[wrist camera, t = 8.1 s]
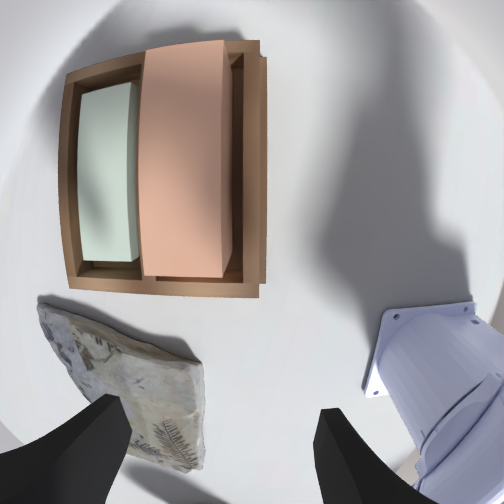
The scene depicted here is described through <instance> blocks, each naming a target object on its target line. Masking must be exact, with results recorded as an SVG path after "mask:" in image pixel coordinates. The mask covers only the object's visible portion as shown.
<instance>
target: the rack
mask: <svg viewBox="0 0 504 504" xmlns="http://www.w3.org/2000/svg"><path fill="white" fill-rule="evenodd" d="M224 43H225V47H226V51H227V55H228V58H229V62H230V66H231V70H232V74H233V78H234V97H233V251H232V254H231V257H230V259H229V262H228V264H227V267H226V269H225V272H224V275H223V277H222V278H214V277H174V276H145V275H144V267H143V257H142V245H141V232H140V214H139V182H138V153H139V122H140V105H141V92H142V81H143V72H144V63H145V55H146V51H145V52H140V53H136V54H131V55H127V56H123V57H119V58H115V59H112V60H108V61H105V62H101V63H98V64H95V65H91V66H88V67H85V68H82V69H79V70H77V71H74V72H71V73H68V74H67V75H66V81H65V87H64V94H63V101H62V109H61V119H60V131H59V150H58V194H59V213H60V226H61V236H62V245H63V252H64V260H65V266H66V272H67V278H68V284H69V288H71V289H82V290H93V291H106V292H119V293H134V294H150V295H169V296H192V297H225V298H259V284H266V237H267V57H260V40H237V41H224ZM130 82H131V83H133V84H134V85H136V86H137V87H138V88H139V98H138V112H137V131H136V204H137V224H138V239H139V252H140V256H139V257H138V258H136V259H135V260H133V261H132V262H130V261H91V260H83V252H82V243H81V234H80V222H79V207H78V179H77V162H78V134H79V120H80V109H81V100H82V94H86V93H89V92H93V91H96V90H100V89H104V88H108V87H112V86H116V85H120V84H125V83H130Z"/></svg>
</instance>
